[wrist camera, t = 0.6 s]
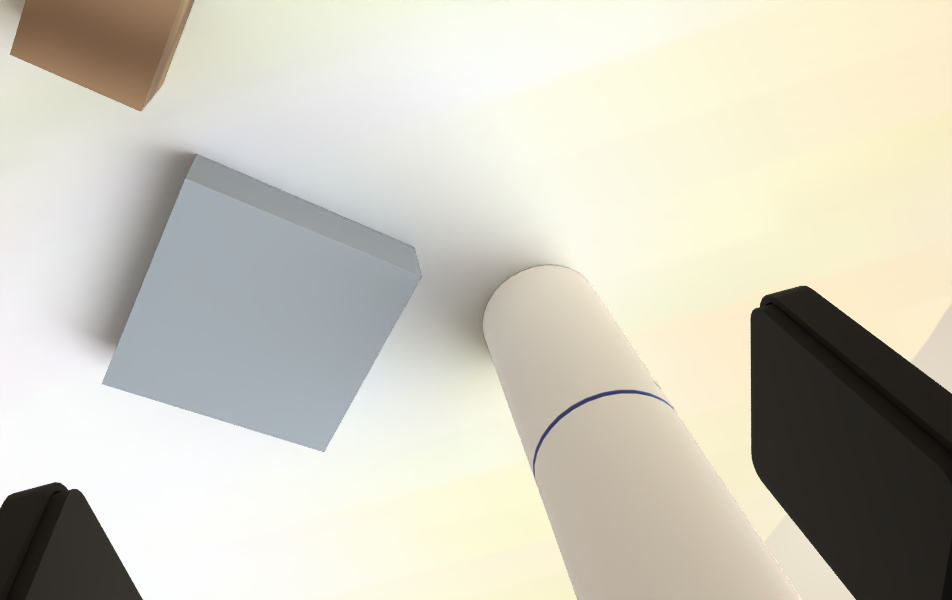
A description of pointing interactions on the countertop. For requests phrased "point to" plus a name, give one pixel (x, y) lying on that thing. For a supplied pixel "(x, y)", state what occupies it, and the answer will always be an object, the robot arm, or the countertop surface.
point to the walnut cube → (104, 43)
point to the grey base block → (261, 308)
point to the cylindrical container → (617, 455)
